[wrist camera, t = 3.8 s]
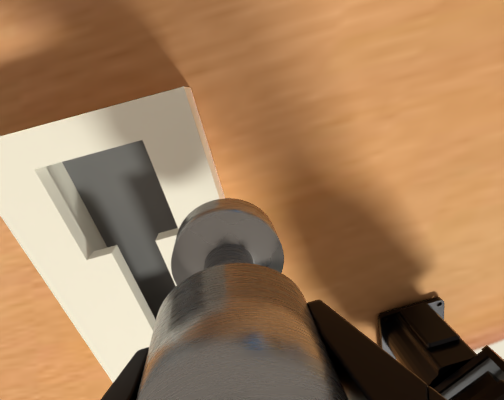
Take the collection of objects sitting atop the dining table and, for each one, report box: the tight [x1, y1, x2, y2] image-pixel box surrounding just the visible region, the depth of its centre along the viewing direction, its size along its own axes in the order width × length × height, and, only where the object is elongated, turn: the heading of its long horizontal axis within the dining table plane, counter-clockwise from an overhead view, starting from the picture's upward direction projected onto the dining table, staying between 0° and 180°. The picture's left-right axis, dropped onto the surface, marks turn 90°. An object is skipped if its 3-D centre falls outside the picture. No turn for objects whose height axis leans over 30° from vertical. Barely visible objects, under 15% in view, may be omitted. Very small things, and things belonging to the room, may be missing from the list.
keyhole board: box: [0, 86, 225, 382], centre depth 20 cm, size 20×12×4 cm, turn 14°
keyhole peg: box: [136, 198, 348, 400], centre depth 9 cm, size 5×5×9 cm
